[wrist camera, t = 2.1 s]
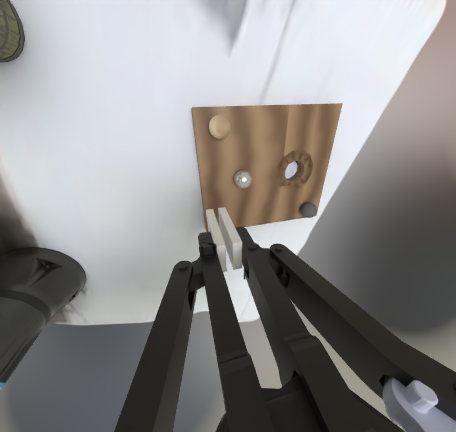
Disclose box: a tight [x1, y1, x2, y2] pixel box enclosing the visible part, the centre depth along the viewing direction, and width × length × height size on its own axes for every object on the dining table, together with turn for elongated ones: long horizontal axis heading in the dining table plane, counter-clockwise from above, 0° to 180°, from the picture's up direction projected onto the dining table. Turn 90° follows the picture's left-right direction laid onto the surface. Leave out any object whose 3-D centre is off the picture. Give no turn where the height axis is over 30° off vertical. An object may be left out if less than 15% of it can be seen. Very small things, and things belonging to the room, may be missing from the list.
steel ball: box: [234, 170, 252, 188], centre depth 32 cm, size 4×4×4 cm
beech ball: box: [209, 115, 230, 139], centre depth 28 cm, size 4×4×4 cm
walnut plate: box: [192, 103, 342, 232], centre depth 36 cm, size 28×24×2 cm
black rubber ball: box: [301, 203, 317, 218], centre depth 40 cm, size 4×4×4 cm
